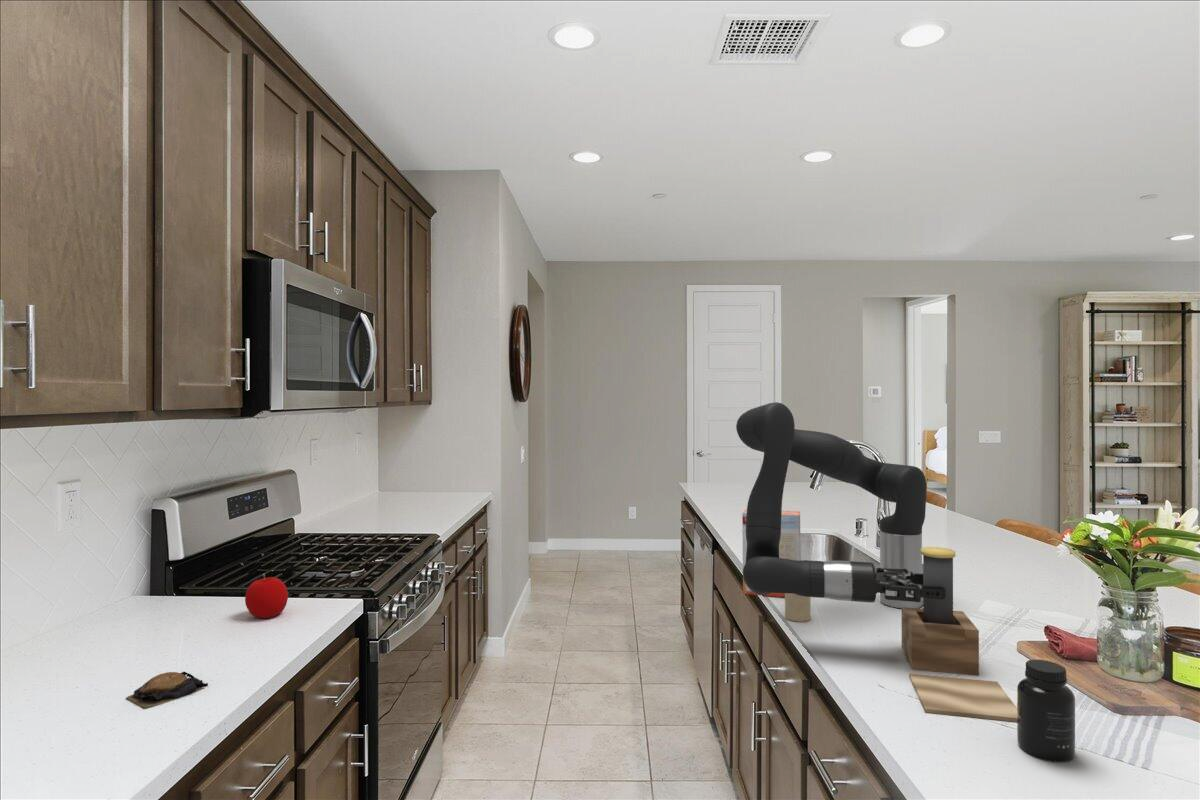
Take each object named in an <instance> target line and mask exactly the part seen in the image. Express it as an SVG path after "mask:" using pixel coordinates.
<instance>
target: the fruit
mask: <svg viewBox="0 0 1200 800" xmlns="http://www.w3.org/2000/svg"><path fill="white" fill-rule="evenodd" d="M262 576H263V578H260V579H257V580H254V581H253V582H252V583H251V584H250V585H249V586H248V587H247V590H246V592H245V597H244V598H245V599H244V601H245V607H246V608H247V611H248V612H249V613H250V614H251V615H252V616H253V617H254V618H259V619H271V618H274V617H276V616H278V615H280V614H281V613H282V612H283V611H284V610H285V608H286V606H287V604H288V600H289V592H288V588H287V587H286V584H285V583H284V581H282V580H281V579H279V578H278V577H274V576H269V577H266V575H265V573H263V574H262Z"/></svg>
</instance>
